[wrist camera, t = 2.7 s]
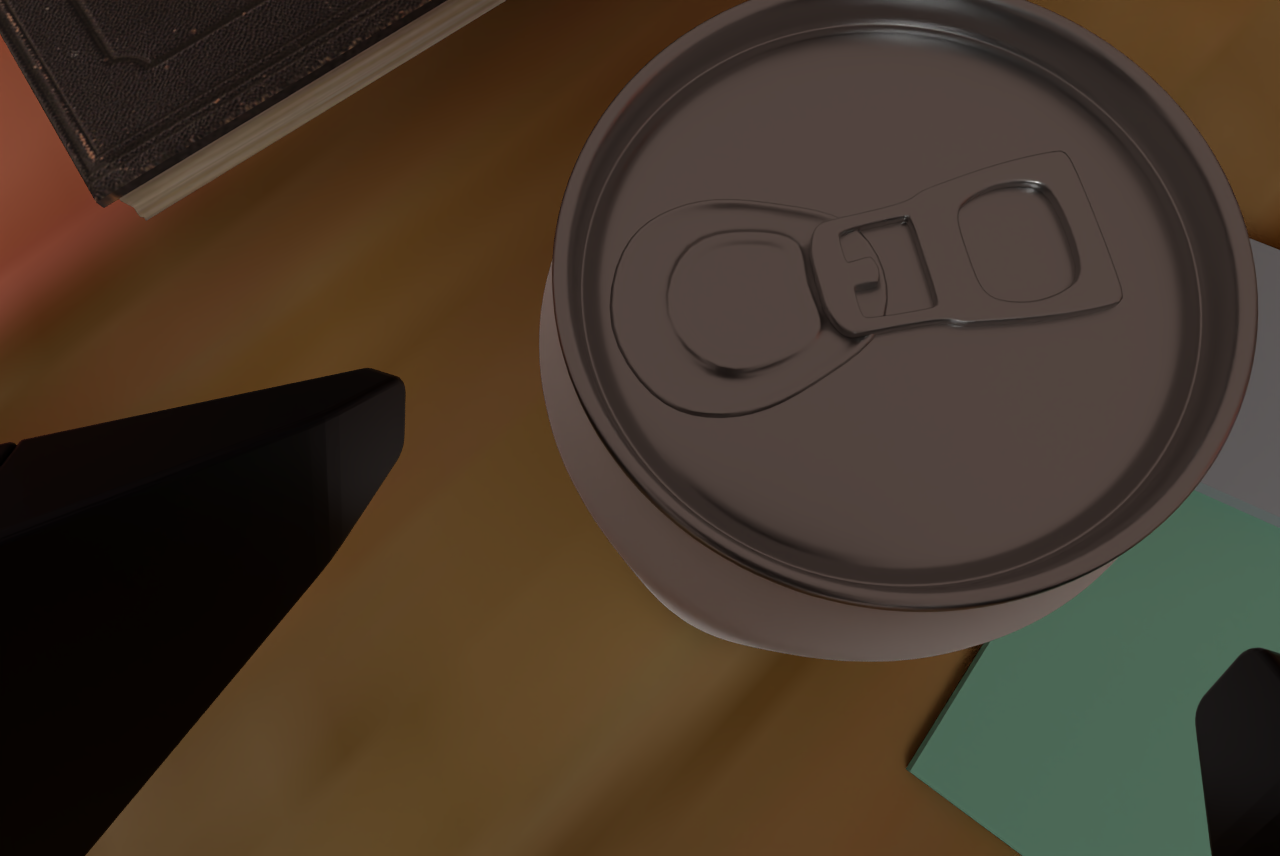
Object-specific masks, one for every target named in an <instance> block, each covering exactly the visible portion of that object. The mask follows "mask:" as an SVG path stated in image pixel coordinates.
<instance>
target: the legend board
mask: <svg viewBox="0 0 1280 856" xmlns="http://www.w3.org/2000/svg"><path fill="white" fill-rule="evenodd" d="M1249 240H1250V244H1251V248H1252V253H1253V259H1254V264H1255V271H1256V279H1257V291H1258V331H1257V341H1256V349H1255V356H1254V362H1253V367H1252V371H1251V376H1250V380H1249V384H1248V387H1247V391H1246V394H1245V397H1244V400H1243V403H1242V406H1241V409H1240V411H1239V414H1238V416H1237V419H1236V421H1235V424H1234V426H1233V428H1232V430H1231V432H1230V434H1229V436H1228V439H1227V441H1226V442H1225V444H1224V446H1223V448H1222V450H1221V451H1220V453H1219V455H1218V457H1217V458H1216V460H1215V461H1214V463H1213V464H1212V466H1211V468H1210V469H1209V471H1208V472H1207V473H1206V475H1205V476H1204V478H1203V479H1202V480H1201V482H1200V483H1199V484H1198V486H1197V487H1196V488H1195V489H1194V490H1195V491H1197V492H1200V493H1202V494H1204V495H1206V496H1209V497H1211V498H1213V499H1215V500H1218V501H1220V502H1222V503H1224V504H1227V505H1229V506H1231V507H1233V508H1236V509H1238V510H1240V511H1242V512H1245V513H1247V514H1249V515H1251V516H1254V517H1256V518H1258V519H1260V520H1263V521H1265V522H1267V523H1269V524H1272V525H1274V526H1276V527H1278V528H1280V250H1278V249H1276V248H1273V247H1271V246H1268V245H1266V244H1263V243H1260V242H1258V241H1255V240H1253V239H1250V238H1249Z"/></svg>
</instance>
